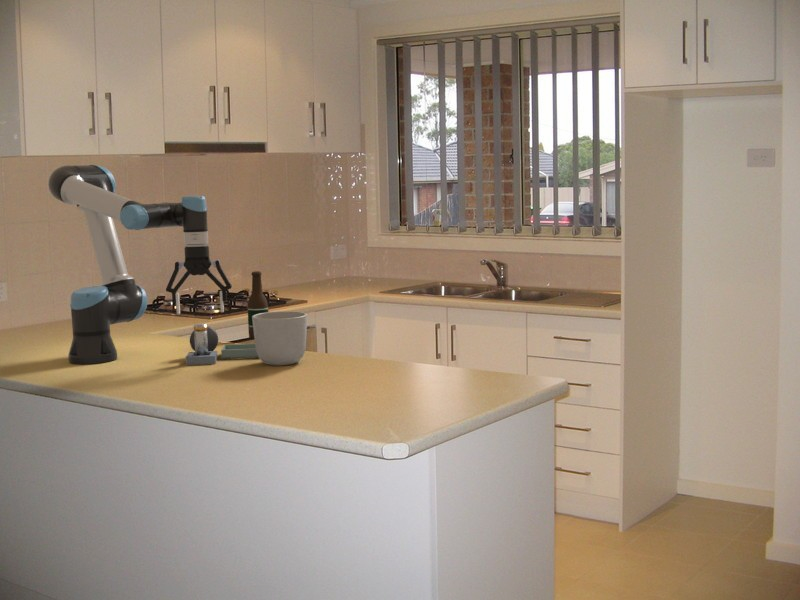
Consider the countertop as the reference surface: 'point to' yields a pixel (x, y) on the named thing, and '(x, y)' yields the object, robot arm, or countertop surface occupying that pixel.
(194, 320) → the countertop surface
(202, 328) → the pin
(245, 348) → the tray
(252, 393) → the countertop surface
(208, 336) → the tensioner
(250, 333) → the beer bottle
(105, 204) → the robot arm
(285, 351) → the planter
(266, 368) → the countertop surface
